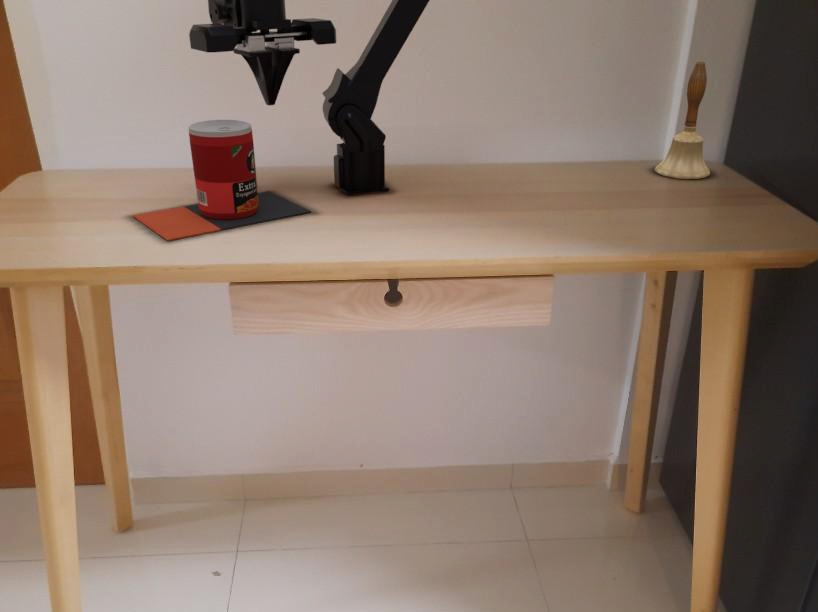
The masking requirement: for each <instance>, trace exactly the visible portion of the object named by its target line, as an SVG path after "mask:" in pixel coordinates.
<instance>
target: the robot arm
mask: <svg viewBox="0 0 818 612" xmlns="http://www.w3.org/2000/svg"><path fill="white" fill-rule="evenodd" d="M430 1H431V0H391V2H390V4H389V6H388V7H387V9H386V11H385V12H384V14H383V16H382V18H381V19H380V22H379V23H378V25H377V26H376V28H375V30H374V32H373V34H372V35H371V37H370V38H369V41H368V42H367V44H366V46H365V48H364V49H363V51H362V53H361V55H360V56H359V58H358V59H357V62H356V63H355V64H354V65H353V66H352V67H351V68H350V69H349V70H348V71H347V72H346V73H344V72H343V71H342V70H341V69H340V68H336V70H335V72H334V75H333V77H332V80H331V83H330V85H328V87H327V89H325V90H324V91H323V92H322V95H323V96H324V100H323V103H322V113H323V117H324V119H325V121H326V123H327V125H328V127H330V129H331V131H332V132H333V133H334V134H335V135H336V136H337V137H339V138H340V140H341V141H342V142H341V143H336V154H335V155H334V156H333V174H334V175H333V178H334V179H333V180H334V186H336V187H337V188H338V189H339V190H340V191H342V192H343V193H344V194H345V195H348V196H351V195H362V194H370V193H381V192H388V191H390V187H389V186H388V185H387V184H386V173H385V172H386V163H385V162H386V161H385V160H386V159H385V158H386V156H385V155H386V154H385V153H386V152H385V151H386V150H385V147H386V145H385V141H386V139H387V138H386V137H387V136H386V134H385V133H384V132H383V130H382V129H381V128H379V126H378V125H377V124H376V123H375V121H373V120H372V118H373V117H372V116H373V114H374V111H375V109H376V106H377V103H378V99H379V96H380V92H381V88H382V84H383V81H384V80H385V77H386V75H387V74H388V73H389V71H390V69H391V67H392V65H393V64H394V62H395V60H396V58H397V57H398V55H399V54H400V52H401V50H402V48H403V47H404V46H405V43H407V42H406V41H407V40H408V38H409V36H410V35H411V33H412V31H413V29H414V28H415V27H416V25H417V23H418V21H419V19H420V17H421V16H422V14H423V12H424V11H425V9H426V8H427V6H428V4H429V2H430ZM207 4H208V14H209V19H210V22H211V23H200V24H199V23H198V24H192V26H191V28H190V30H189V34H188V36H189V43H190V49H191V50H196V51H200V52H204V53H224V52H226V53H227V52H233V54H234V55H240V56H241V57H242V58H243V59H244V60H245V62H246V63H247V65H248V66H249V68H250V70H251V72H252V74H253V76H254V78H255V82H256V83H257V87H258V88H259V91H260V94H261V96H262V98H263V101H264V103H265V105H267V106H269V107H270V106H275V105H276V102H277V100H278V97H279V93H280V91H281V87H282V85H283V82H284V79H285V77H286V74H287V72H288V69H289V67H290V65H291V63H292V61H293V58H294V57H295V55H298V54H300V53H301V50H300V48H297V47H295V42H304V41H305V42H307V41H313V42H314V43H315V44H316V45H317V46H319V45H320V46H321V45H322V46H323V45H335V44H337V29H336V27H335V25H334V23H333V22H332V20H330V19H324V18H323V19H322V18H314V17H312V18H294V19H291V18H287V13H286V0H207ZM258 31H259V32H258Z"/></svg>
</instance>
